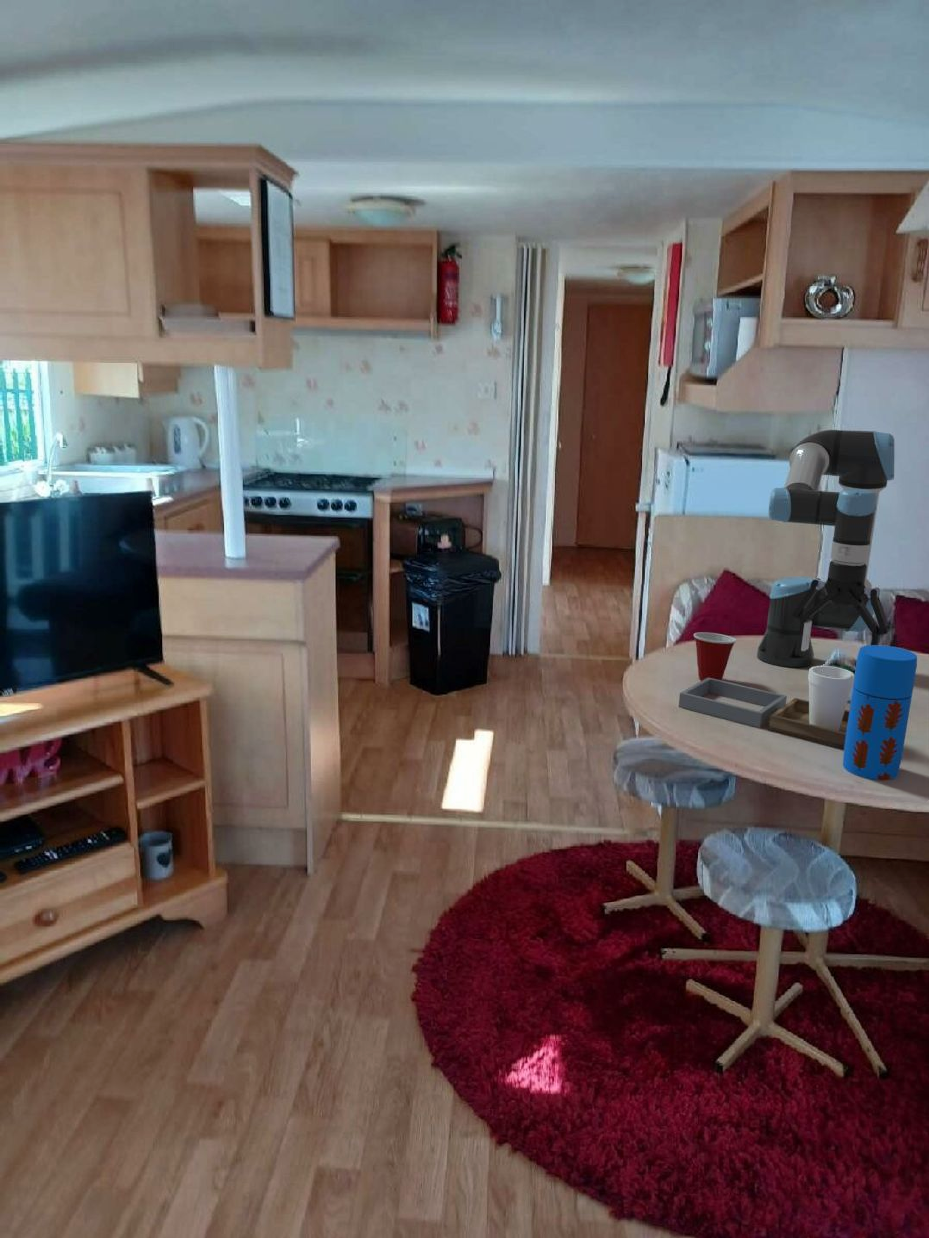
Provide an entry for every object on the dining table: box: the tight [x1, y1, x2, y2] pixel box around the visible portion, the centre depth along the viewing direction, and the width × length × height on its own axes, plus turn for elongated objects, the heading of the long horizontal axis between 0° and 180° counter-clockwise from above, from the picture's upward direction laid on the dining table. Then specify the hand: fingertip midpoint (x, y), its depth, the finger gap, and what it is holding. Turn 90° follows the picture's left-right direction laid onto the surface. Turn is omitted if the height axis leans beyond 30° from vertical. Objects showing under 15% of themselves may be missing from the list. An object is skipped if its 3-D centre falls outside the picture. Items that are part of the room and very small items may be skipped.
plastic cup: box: [693, 631, 737, 682], centre depth 246 cm, size 11×11×12 cm
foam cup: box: [807, 665, 855, 731], centre depth 212 cm, size 10×9×13 cm
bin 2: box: [768, 697, 850, 751], centre depth 213 cm, size 16×20×4 cm
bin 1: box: [678, 678, 788, 729], centre depth 226 cm, size 16×20×4 cm
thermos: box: [842, 644, 918, 781], centre depth 191 cm, size 11×11×25 cm
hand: (835, 656), depth 209 cm, fingers open, 13 cm apart
